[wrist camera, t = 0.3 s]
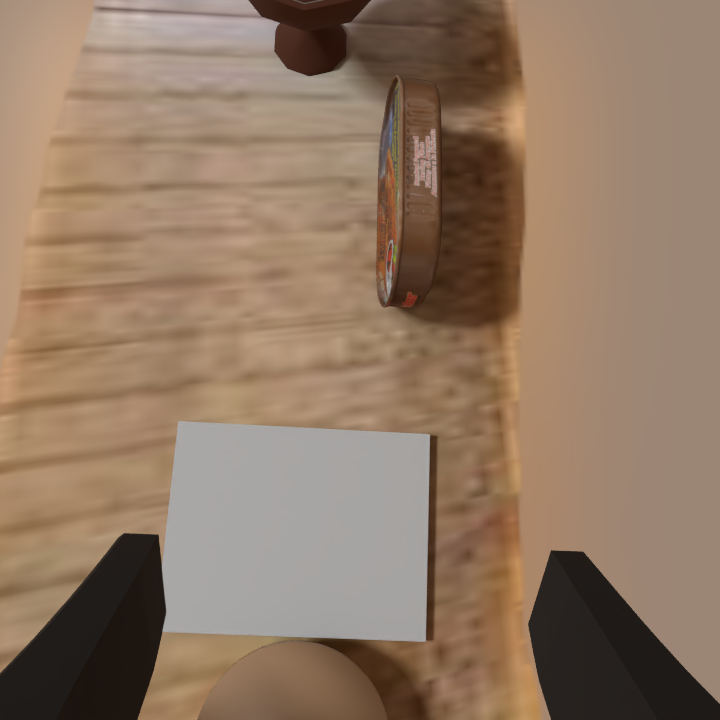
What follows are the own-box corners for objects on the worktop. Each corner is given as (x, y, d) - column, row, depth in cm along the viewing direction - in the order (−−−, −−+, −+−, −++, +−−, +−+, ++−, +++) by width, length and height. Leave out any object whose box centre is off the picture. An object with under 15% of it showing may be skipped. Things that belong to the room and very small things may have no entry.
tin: (379, 125, 46) (391, 43, 38) (421, 128, 46) (443, 46, 38) (374, 323, 43) (387, 280, 34) (421, 325, 43) (444, 282, 35)
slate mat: (424, 640, 38) (425, 641, 38) (157, 629, 37) (154, 631, 37) (428, 435, 41) (430, 434, 40) (180, 422, 40) (178, 421, 40)
